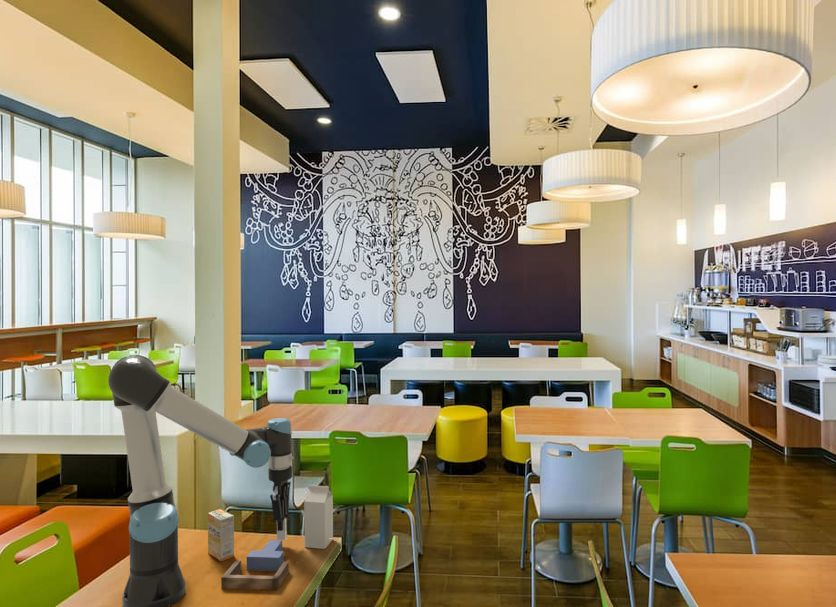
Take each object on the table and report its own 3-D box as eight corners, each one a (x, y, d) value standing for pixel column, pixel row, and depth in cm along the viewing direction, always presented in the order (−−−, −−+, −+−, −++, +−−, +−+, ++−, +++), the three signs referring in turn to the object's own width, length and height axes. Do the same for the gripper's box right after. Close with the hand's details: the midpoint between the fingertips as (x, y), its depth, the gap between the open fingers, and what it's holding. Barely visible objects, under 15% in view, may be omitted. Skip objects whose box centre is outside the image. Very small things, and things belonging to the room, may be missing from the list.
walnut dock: (221, 588, 142) (221, 577, 142) (236, 570, 152) (236, 560, 152) (277, 590, 141) (277, 579, 141) (288, 572, 151) (288, 561, 151)
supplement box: (207, 554, 162) (206, 512, 162) (221, 548, 166) (221, 508, 166) (220, 562, 157) (219, 519, 157) (234, 556, 161) (234, 514, 161)
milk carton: (325, 549, 165) (324, 490, 165) (304, 547, 166) (304, 489, 166) (333, 539, 171) (332, 482, 172) (313, 537, 173) (312, 481, 173)
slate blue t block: (260, 552, 163) (260, 539, 163) (291, 553, 162) (291, 540, 162) (246, 570, 152) (246, 556, 152) (279, 571, 151) (279, 557, 151)
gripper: (284, 473, 161) (286, 548, 161) (297, 460, 174) (299, 530, 174) (261, 473, 161) (263, 548, 161) (276, 460, 174) (277, 529, 174)
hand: (281, 538), depth 167 cm, fingers closed
